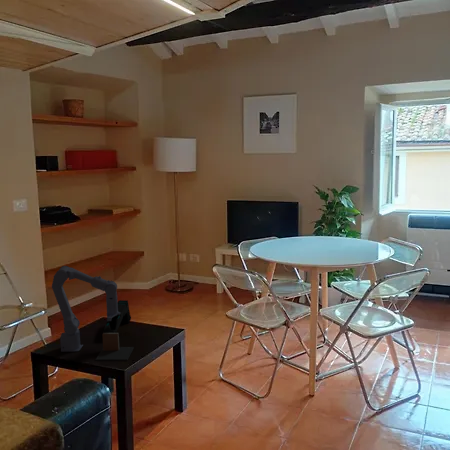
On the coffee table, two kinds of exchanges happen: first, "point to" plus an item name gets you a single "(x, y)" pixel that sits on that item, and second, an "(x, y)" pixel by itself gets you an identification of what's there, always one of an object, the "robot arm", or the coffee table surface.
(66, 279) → the robot arm
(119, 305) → the gun
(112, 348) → the tile
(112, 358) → the mat
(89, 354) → the coffee table surface
